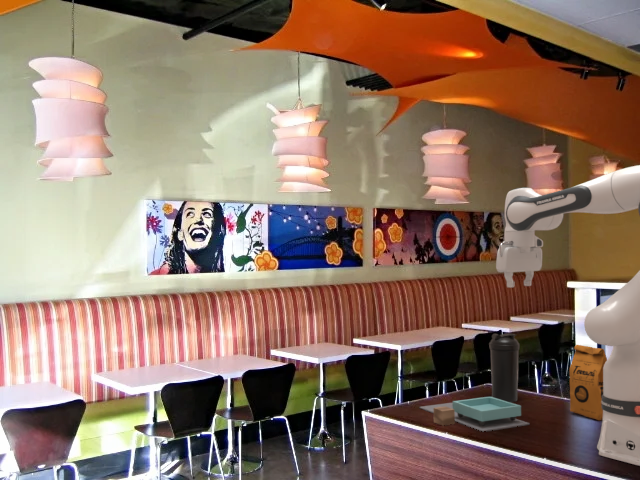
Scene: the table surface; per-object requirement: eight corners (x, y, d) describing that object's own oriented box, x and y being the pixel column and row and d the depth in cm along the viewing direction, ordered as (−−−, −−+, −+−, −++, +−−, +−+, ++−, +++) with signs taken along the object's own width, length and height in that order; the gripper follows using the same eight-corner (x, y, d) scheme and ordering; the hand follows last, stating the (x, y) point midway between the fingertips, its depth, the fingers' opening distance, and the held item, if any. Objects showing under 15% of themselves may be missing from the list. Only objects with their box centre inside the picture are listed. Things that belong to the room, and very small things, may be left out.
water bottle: (525, 402, 229) (524, 335, 229) (497, 403, 227) (496, 336, 228) (511, 395, 239) (511, 331, 239) (485, 396, 237) (484, 332, 238)
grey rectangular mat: (529, 424, 200) (529, 423, 200) (482, 432, 192) (482, 430, 192) (462, 402, 229) (462, 401, 229) (419, 408, 221) (419, 406, 221)
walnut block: (454, 424, 201) (454, 409, 201) (442, 426, 199) (442, 411, 199) (445, 420, 205) (445, 406, 205) (433, 422, 203) (433, 407, 203)
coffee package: (595, 422, 202) (595, 350, 203) (565, 413, 214) (564, 344, 214) (619, 418, 207) (618, 348, 207) (588, 410, 218) (587, 343, 218)
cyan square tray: (521, 421, 201) (521, 405, 201) (482, 427, 195) (481, 411, 195) (490, 411, 214) (490, 396, 214) (452, 416, 207) (452, 401, 207)
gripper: (509, 241, 193) (509, 288, 193) (546, 241, 207) (545, 285, 207) (491, 241, 198) (490, 287, 198) (527, 241, 211) (527, 284, 211)
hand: (519, 286), depth 202 cm, fingers open, 8 cm apart
